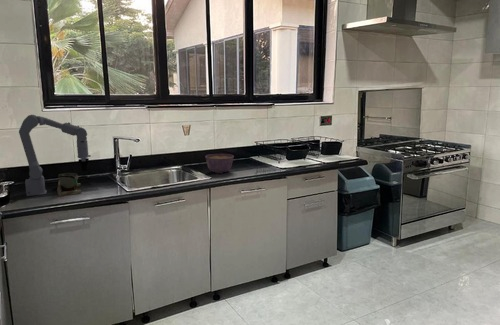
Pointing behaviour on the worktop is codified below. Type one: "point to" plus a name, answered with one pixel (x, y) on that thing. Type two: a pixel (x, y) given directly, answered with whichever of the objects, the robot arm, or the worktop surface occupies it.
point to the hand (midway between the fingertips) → (84, 171)
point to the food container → (68, 181)
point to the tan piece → (67, 191)
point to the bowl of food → (219, 162)
